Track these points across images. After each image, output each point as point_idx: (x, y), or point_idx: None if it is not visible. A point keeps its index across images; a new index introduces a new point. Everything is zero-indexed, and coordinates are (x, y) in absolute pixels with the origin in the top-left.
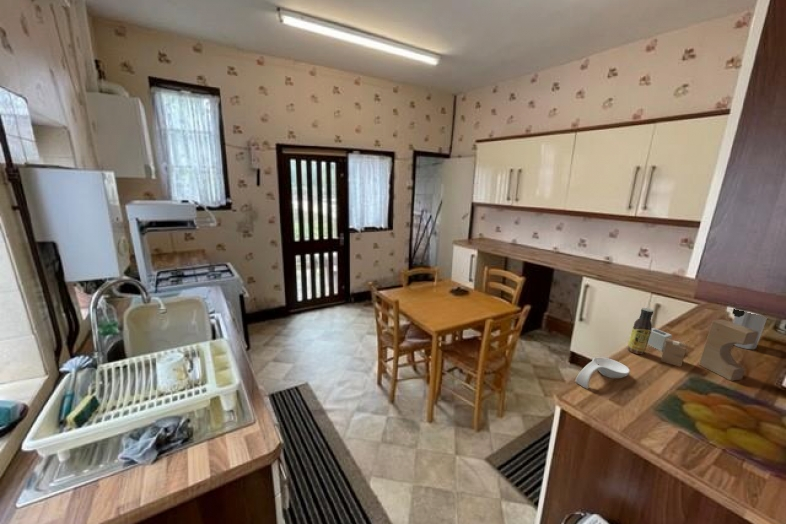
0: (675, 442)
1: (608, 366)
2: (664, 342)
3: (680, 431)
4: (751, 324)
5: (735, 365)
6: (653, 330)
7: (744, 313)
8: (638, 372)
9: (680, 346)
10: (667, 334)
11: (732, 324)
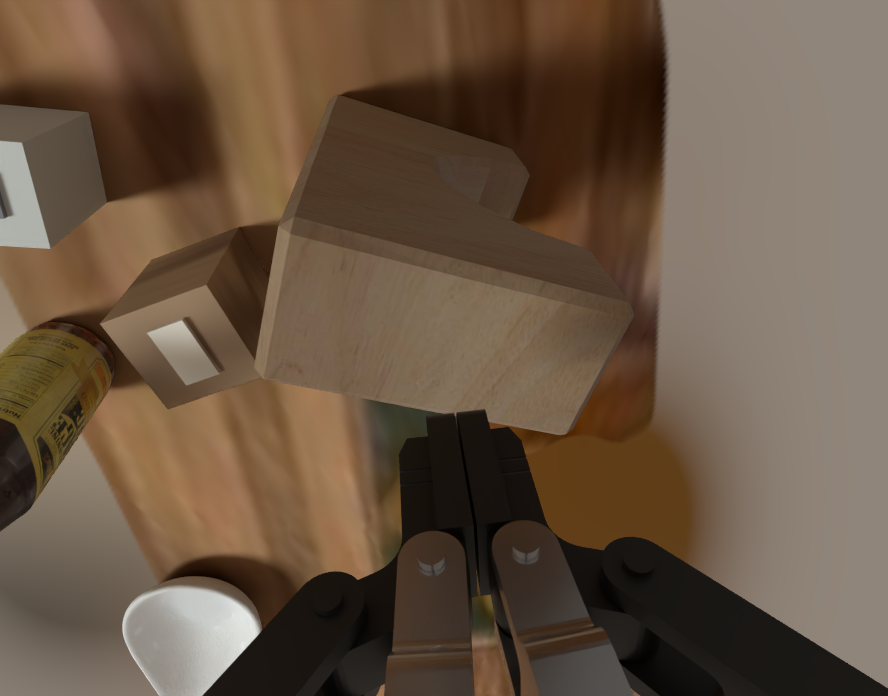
0: (481, 678)
1: (174, 593)
2: (73, 217)
3: (474, 648)
4: None
5: (486, 206)
6: None
7: (525, 463)
8: (241, 516)
9: (225, 367)
10: (9, 175)
11: (421, 331)
